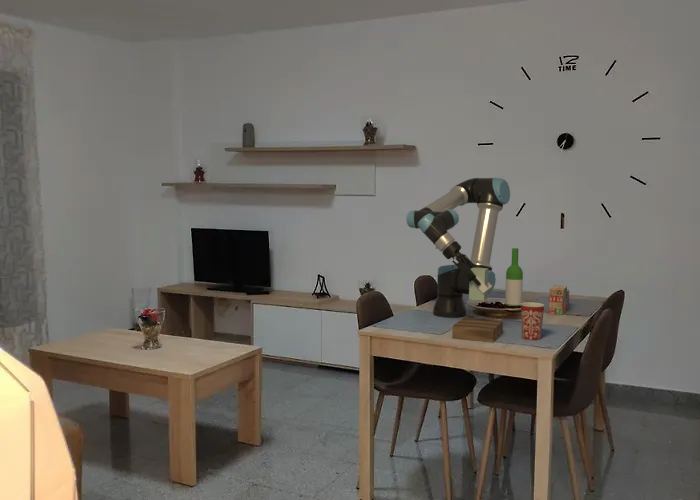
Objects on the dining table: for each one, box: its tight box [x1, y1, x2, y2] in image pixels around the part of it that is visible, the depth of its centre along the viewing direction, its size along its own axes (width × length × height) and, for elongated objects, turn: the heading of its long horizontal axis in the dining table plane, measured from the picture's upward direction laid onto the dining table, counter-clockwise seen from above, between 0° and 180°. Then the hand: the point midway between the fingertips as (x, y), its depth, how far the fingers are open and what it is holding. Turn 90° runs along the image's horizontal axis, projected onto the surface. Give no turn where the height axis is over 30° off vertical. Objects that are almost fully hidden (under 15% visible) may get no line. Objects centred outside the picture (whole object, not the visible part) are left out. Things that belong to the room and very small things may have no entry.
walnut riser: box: [451, 316, 504, 344], centre depth 262 cm, size 18×16×5 cm
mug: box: [520, 301, 545, 341], centre depth 259 cm, size 13×9×14 cm
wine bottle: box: [504, 247, 524, 306], centre depth 312 cm, size 8×8×30 cm
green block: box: [468, 268, 489, 301], centre depth 260 cm, size 6×6×12 cm
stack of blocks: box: [548, 284, 570, 316], centre depth 314 cm, size 21×6×12 cm, turn 154°
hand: (487, 289), depth 258 cm, fingers closed on green block, 6 cm apart
